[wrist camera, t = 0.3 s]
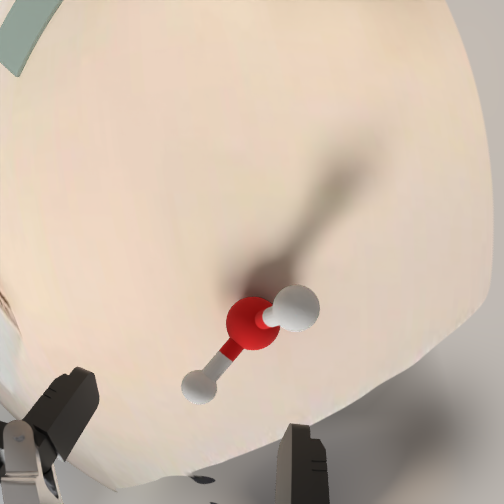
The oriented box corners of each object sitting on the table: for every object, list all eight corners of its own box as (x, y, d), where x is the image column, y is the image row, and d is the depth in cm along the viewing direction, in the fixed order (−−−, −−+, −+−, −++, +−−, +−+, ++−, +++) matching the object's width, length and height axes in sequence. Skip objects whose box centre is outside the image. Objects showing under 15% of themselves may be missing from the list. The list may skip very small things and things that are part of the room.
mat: (36, -26, 18) (33, -27, 18) (72, -13, 20) (69, -14, 19) (-9, 51, 23) (-12, 51, 23) (19, 76, 25) (16, 76, 25)
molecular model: (279, 231, 29) (272, 279, 20) (326, 264, 30) (338, 322, 21) (197, 341, 36) (170, 399, 27) (236, 364, 37) (220, 425, 28)
